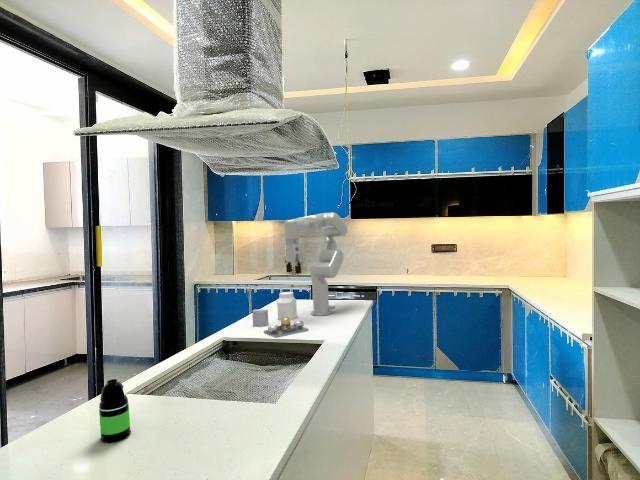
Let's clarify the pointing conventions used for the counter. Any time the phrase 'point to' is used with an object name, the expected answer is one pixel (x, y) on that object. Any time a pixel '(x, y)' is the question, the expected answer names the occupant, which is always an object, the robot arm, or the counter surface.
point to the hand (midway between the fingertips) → (293, 272)
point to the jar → (286, 305)
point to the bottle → (114, 413)
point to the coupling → (285, 323)
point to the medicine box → (260, 317)
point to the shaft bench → (286, 330)
